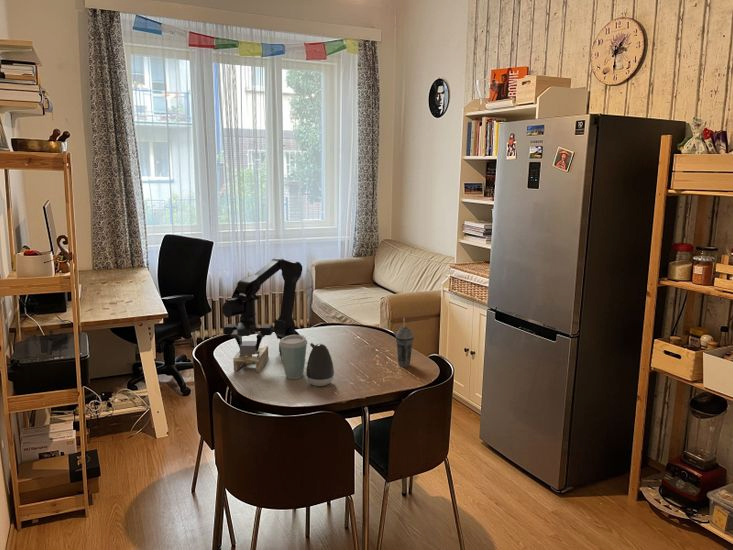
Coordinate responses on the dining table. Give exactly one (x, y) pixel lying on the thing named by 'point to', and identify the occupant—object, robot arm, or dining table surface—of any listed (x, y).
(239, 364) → the keyhole board
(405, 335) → the beverage cup
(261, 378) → the dining table surface
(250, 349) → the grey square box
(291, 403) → the dining table surface
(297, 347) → the disposable coffee cup
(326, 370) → the pump dispenser
